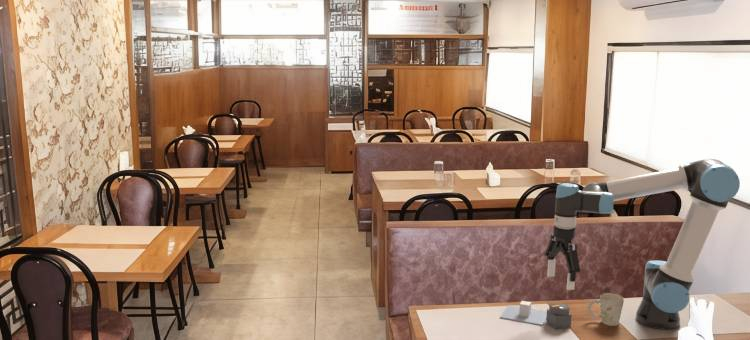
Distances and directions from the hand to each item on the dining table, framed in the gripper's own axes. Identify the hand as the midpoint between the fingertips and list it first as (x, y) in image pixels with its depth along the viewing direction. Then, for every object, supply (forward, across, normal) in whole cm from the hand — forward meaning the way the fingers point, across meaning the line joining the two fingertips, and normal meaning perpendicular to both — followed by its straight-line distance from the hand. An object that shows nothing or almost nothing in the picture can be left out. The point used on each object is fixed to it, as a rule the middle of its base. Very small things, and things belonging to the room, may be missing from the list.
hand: (560, 282), depth 240 cm
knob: (+16, 0, 0) cm, 16 cm away
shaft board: (+16, -10, -8) cm, 21 cm away
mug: (+16, +2, +18) cm, 25 cm away
